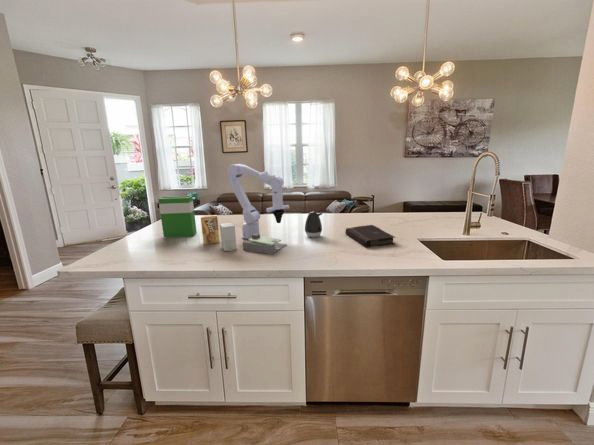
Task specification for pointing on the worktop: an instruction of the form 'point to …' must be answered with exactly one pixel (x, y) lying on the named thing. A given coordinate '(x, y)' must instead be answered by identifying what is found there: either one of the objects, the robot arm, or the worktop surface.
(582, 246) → the worktop surface
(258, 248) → the large grey box
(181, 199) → the green cereal box
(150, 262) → the worktop surface
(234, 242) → the small box
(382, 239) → the diary
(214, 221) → the candy box
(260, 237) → the cover
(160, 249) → the worktop surface
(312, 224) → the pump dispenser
